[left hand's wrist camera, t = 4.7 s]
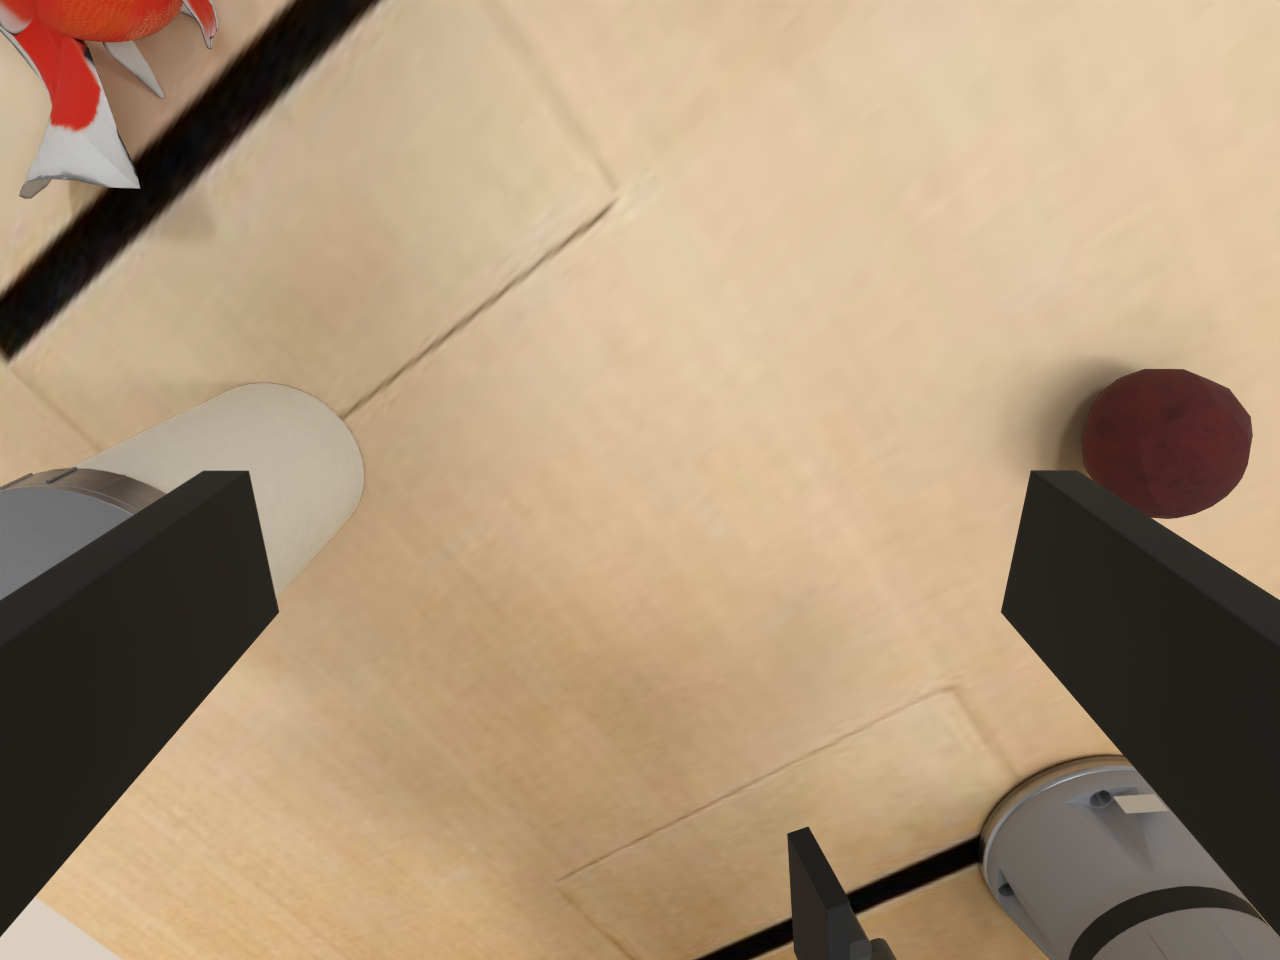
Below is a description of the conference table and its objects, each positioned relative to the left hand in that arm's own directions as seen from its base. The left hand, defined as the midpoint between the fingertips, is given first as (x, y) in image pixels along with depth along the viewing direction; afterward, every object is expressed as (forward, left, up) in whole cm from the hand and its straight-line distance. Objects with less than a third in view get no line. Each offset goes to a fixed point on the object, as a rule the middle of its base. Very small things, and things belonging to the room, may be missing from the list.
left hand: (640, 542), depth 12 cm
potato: (+6, +27, -28) cm, 39 cm away
